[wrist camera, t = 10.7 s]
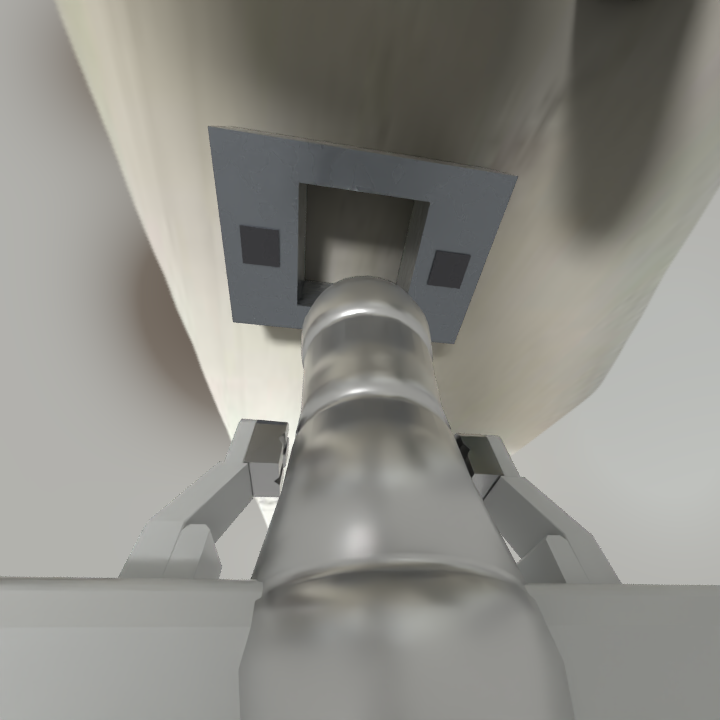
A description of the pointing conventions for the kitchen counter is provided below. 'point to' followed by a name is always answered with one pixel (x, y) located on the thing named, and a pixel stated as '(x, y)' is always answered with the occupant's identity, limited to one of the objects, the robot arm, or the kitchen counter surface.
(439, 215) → the grey slotted block
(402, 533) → the silver bottle
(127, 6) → the kitchen counter surface
